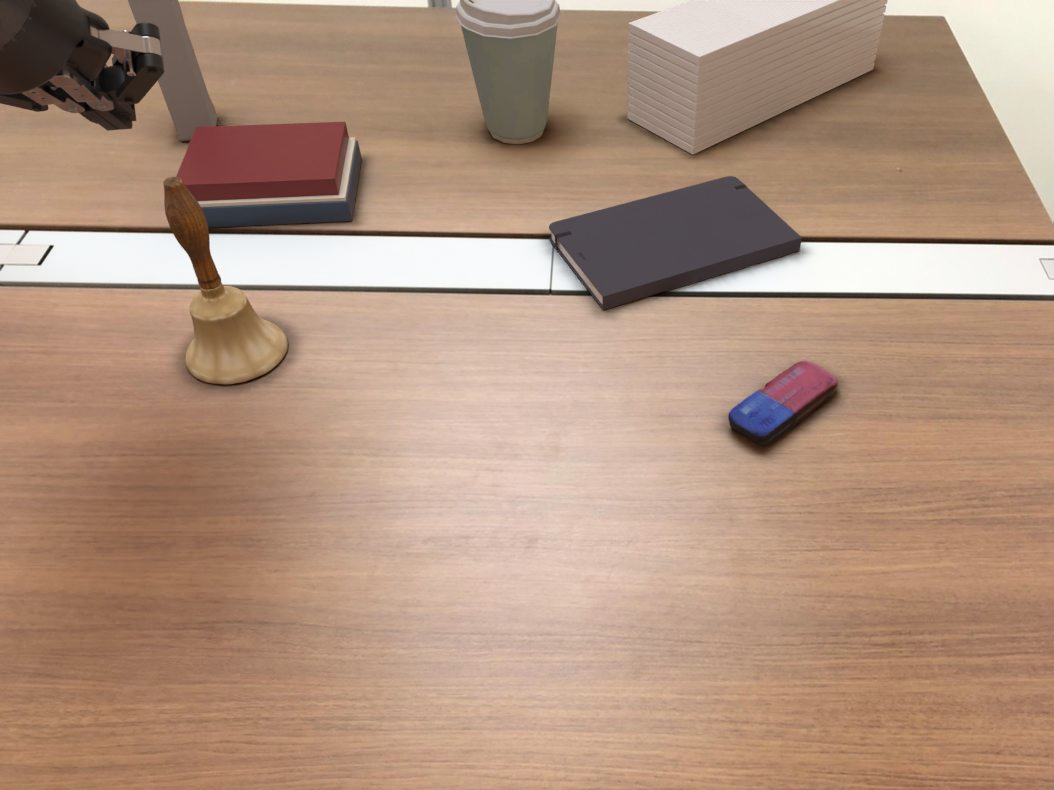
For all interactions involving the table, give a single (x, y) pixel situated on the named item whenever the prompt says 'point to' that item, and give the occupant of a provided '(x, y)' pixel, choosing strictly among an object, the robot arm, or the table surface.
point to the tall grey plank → (178, 67)
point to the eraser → (783, 402)
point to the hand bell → (219, 305)
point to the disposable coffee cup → (511, 62)
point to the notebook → (671, 240)
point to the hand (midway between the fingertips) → (119, 114)
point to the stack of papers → (742, 62)
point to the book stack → (273, 173)
